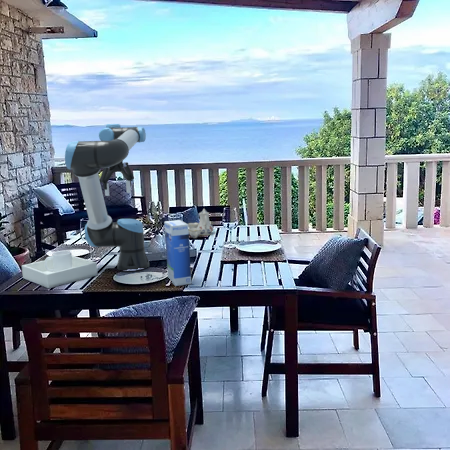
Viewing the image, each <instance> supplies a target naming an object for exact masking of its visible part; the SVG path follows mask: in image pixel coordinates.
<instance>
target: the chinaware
mask: <svg viewBox="0 0 450 450" xmlns="http://www.w3.org/2000/svg"><path fill="white" fill-rule="evenodd" d="M198 214H199V222H196V221H195V222H188V223H187V224H188V229H189V236H190V237H192V238H193V239H197V238H198V237H199V236H210V235H212V233H213V232H214V227H213V225H212V223H211V222H210V218H209V217H210V212H208V211H207V210H206V209H205V208H203V209H202V211H200V212H199V213H198Z"/></svg>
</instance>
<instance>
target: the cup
mask: <svg viewBox="0 0 450 450" xmlns="http://www.w3.org/2000/svg"><path fill="white" fill-rule="evenodd" d="M51 254H52V256H47V257H46V258H45V259H44V260H45V268H46V270H47V271H49V272H58V271H62V270H66V269H70V268H73V264H72V256H73V254H72V251H71V250H58V251H55V252H52V253H51ZM48 259H53V266H54V269H49V268H48V267H47V261H48Z"/></svg>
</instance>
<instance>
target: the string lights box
mask: <svg viewBox="0 0 450 450" xmlns="http://www.w3.org/2000/svg"><path fill="white" fill-rule="evenodd" d="M188 224H189V223H186V222H184V221H183V220H182V219H177V220H176V219H175V220H166V221H164V237H165V238H164V239H165V250H166V251H165V253H166V266H167V269H166V270H167V279H168V278H169V279H170V280H171V281H172V282H171V281H170V280H169V279H168V280H169V281H170V282H171V283H172V285H174V286H175V287H178V286H185V285H186V286H187V285H190V284H192V272H191V269H192V268H191V251H190V234H189V227H188Z"/></svg>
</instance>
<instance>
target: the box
mask: <svg viewBox="0 0 450 450" xmlns="http://www.w3.org/2000/svg"><path fill="white" fill-rule="evenodd" d="M72 264H73V268H70V269H66V270H62V271H58V272H49V271H47V270H46V268H45V259H44V260H41V261H36V262H31V263H28V264H27V263H26V264H21V271H22V279H25V280H26V281H29V282H32V283H35V284H37V285H39V286H42V287H45V288H47V289H51V288H55V287H59V286H62V285H66V284H71V283H74V282H77V281H81V280H85V279H88V278H92V277H96V276H98V263H97V261H92V260H89V259H86V258H82V257H78V256H75V255H72ZM47 267H48V268H49V269H54V266H53V259H48V261H47Z"/></svg>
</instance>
